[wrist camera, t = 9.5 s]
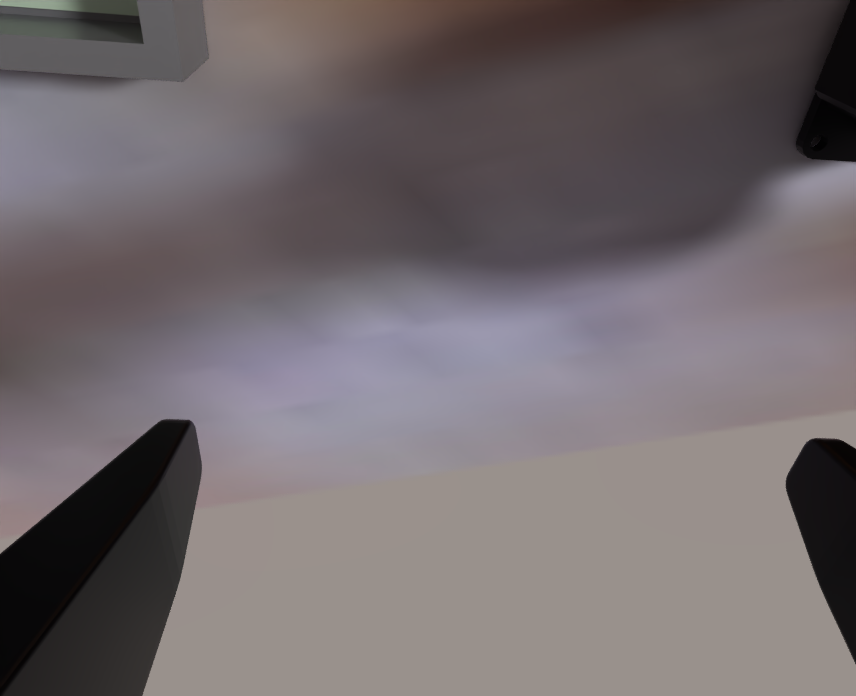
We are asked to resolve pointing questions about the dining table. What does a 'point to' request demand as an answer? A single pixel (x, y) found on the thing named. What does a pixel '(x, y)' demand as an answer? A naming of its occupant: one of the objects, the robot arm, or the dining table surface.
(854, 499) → the robot arm
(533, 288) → the dining table surface
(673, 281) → the dining table surface
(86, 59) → the socket strip
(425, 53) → the dining table surface
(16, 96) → the dining table surface
